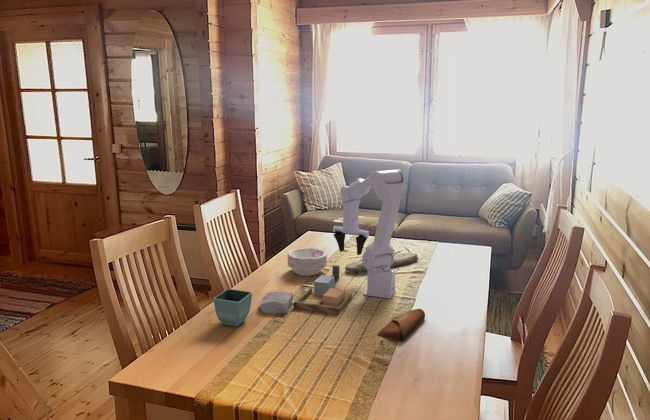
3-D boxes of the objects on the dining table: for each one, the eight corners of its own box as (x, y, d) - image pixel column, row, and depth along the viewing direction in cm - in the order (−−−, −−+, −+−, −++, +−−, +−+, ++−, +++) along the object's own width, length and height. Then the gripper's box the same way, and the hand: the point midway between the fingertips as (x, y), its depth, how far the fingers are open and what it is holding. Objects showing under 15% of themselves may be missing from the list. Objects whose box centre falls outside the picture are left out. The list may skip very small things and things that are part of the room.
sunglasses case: (399, 313, 164) (410, 298, 161) (417, 327, 162) (428, 312, 159) (375, 335, 149) (387, 319, 146) (394, 352, 146) (406, 336, 143)
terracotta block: (344, 302, 173) (344, 289, 172) (337, 310, 167) (337, 297, 166) (330, 300, 175) (330, 287, 174) (322, 308, 168) (322, 295, 167)
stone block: (259, 319, 165) (290, 313, 164) (256, 304, 164) (287, 299, 163) (266, 305, 177) (295, 300, 175) (263, 292, 176) (292, 287, 175)
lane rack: (352, 298, 176) (352, 292, 175) (338, 314, 163) (338, 308, 162) (309, 293, 181) (309, 287, 180) (293, 308, 168) (293, 301, 168)
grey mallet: (343, 279, 194) (343, 266, 193) (327, 295, 179) (327, 281, 178) (330, 277, 196) (330, 264, 195) (314, 293, 180) (314, 279, 179)
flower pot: (253, 318, 160) (252, 291, 158) (240, 330, 152) (238, 302, 150) (228, 315, 163) (227, 288, 161) (214, 326, 155) (212, 298, 153)
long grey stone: (424, 265, 214) (408, 260, 222) (424, 253, 213) (408, 248, 221) (354, 277, 196) (339, 270, 204) (354, 263, 195) (340, 257, 203)
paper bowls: (331, 267, 207) (331, 248, 205) (319, 280, 193) (319, 260, 191) (296, 264, 212) (295, 245, 210) (281, 276, 197) (281, 256, 196)
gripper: (328, 217, 193) (328, 252, 196) (362, 222, 185) (362, 258, 188) (338, 213, 199) (338, 247, 202) (371, 218, 191) (371, 253, 194)
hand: (350, 252), depth 195 cm, fingers open, 7 cm apart
